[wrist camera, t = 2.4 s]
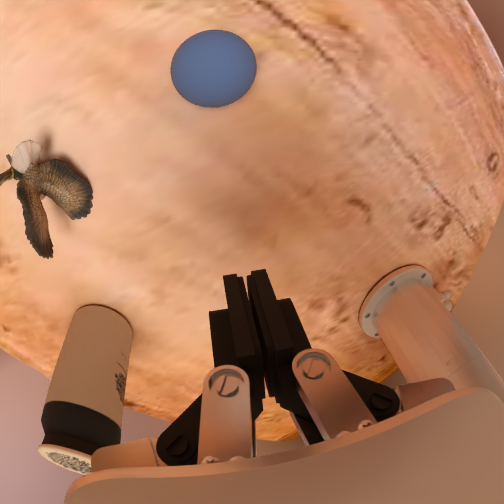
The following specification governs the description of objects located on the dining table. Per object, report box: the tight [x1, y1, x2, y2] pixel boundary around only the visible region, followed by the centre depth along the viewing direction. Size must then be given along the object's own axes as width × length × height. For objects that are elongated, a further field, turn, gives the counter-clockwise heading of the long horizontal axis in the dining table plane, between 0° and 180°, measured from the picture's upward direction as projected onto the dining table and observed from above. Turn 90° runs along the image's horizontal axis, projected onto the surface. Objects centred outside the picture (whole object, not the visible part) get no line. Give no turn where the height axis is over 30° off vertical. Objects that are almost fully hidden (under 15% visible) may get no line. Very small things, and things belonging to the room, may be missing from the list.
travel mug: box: [38, 305, 133, 475], centre depth 24 cm, size 8×8×18 cm
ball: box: [171, 30, 256, 107], centre depth 17 cm, size 6×6×6 cm
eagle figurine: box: [0, 140, 93, 259], centre depth 19 cm, size 8×7×9 cm
